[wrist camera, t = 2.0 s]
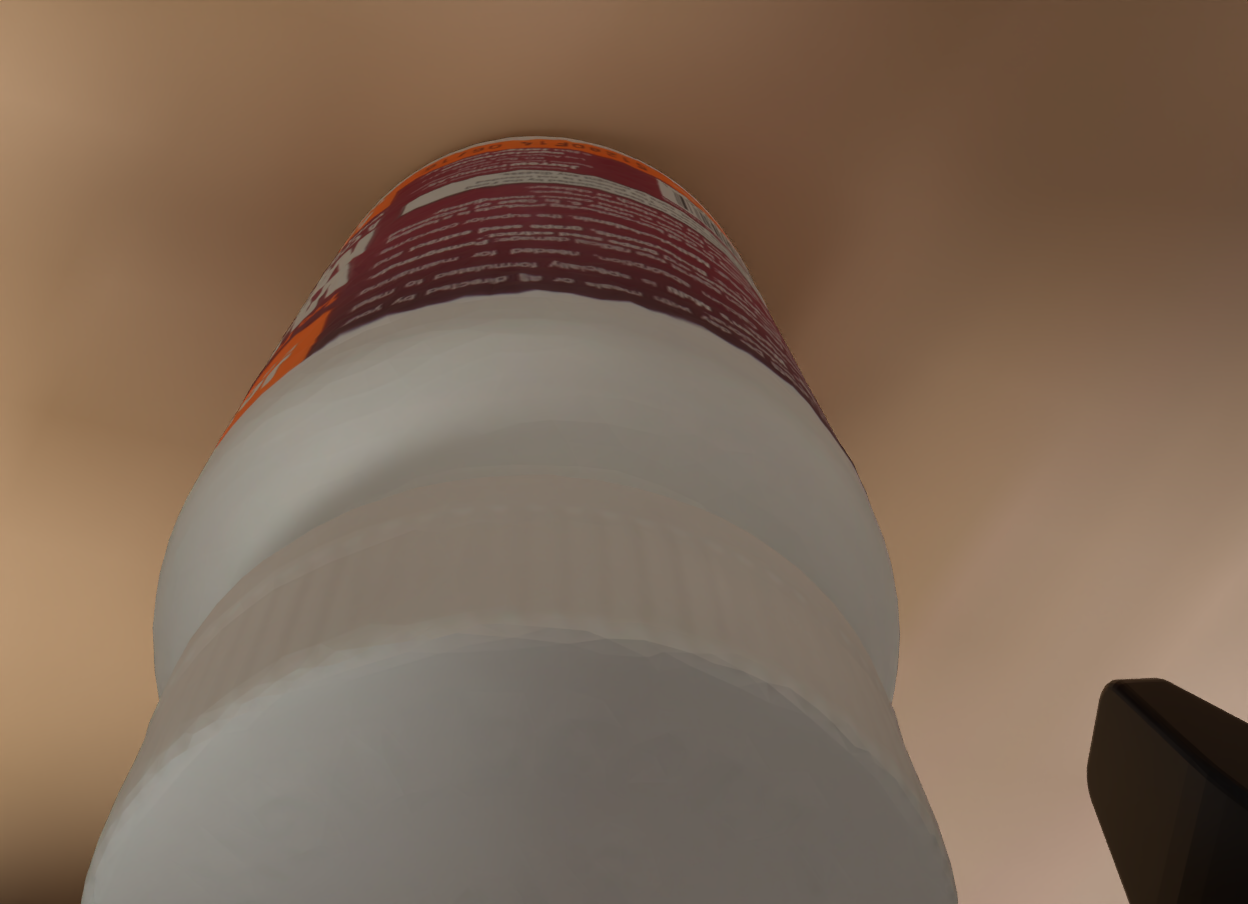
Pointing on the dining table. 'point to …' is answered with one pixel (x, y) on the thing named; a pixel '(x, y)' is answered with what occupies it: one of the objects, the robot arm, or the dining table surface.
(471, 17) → the dining table surface
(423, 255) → the pill bottle
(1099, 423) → the dining table surface
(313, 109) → the dining table surface
